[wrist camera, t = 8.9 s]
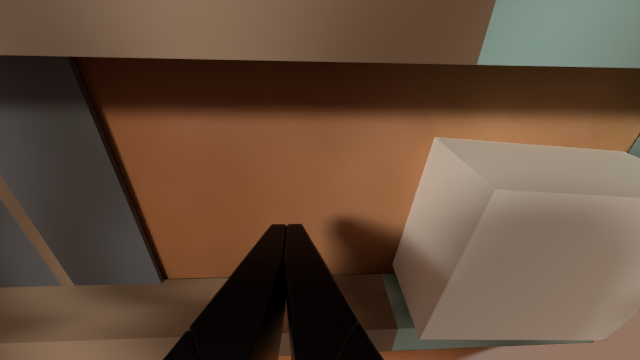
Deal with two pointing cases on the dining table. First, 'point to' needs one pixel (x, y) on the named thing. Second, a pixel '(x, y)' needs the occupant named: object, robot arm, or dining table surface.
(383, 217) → the dining table surface
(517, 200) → the ivory block
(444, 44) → the box
